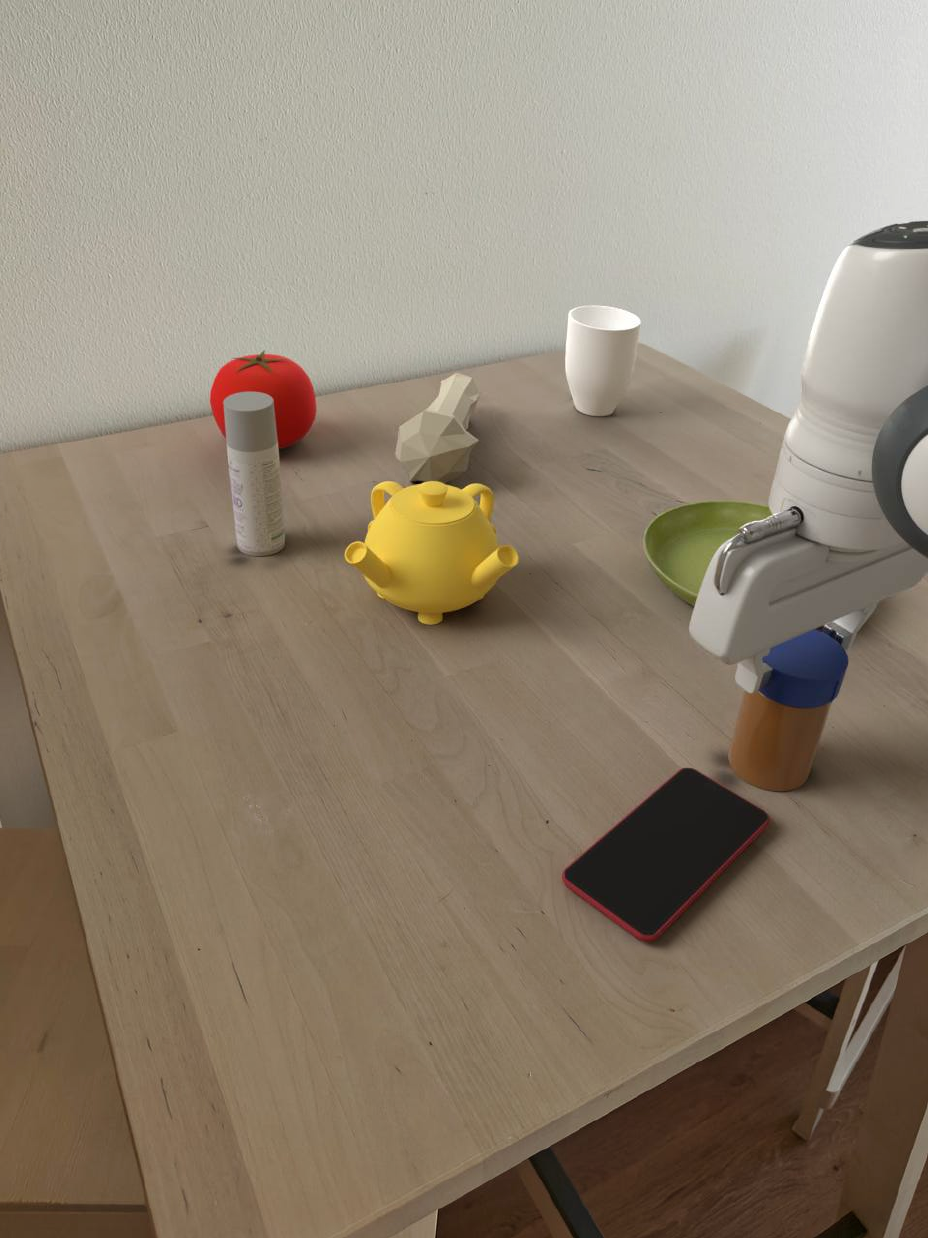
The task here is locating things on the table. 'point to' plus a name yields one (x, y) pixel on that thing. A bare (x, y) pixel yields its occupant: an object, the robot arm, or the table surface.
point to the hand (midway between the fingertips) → (793, 666)
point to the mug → (600, 357)
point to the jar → (775, 742)
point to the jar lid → (806, 670)
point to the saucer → (694, 540)
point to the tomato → (269, 392)
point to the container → (254, 473)
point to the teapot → (431, 547)
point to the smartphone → (665, 853)
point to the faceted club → (440, 433)
